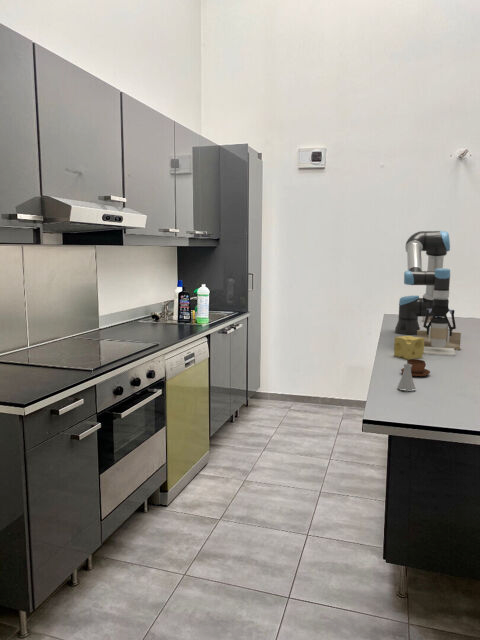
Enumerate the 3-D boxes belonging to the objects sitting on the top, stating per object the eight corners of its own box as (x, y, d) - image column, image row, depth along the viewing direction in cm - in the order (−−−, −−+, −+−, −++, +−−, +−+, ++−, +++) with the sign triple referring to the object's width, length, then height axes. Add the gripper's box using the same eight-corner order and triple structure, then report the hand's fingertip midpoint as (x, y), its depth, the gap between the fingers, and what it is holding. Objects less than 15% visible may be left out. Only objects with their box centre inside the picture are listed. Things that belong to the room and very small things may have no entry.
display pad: (422, 347, 286) (422, 346, 286) (453, 349, 280) (454, 348, 280) (421, 353, 271) (421, 352, 271) (455, 355, 265) (455, 354, 265)
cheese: (408, 360, 257) (409, 339, 255) (392, 355, 266) (393, 336, 265) (423, 357, 262) (424, 338, 260) (407, 353, 271) (408, 334, 270)
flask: (394, 387, 209) (395, 362, 208) (411, 386, 210) (413, 362, 208) (400, 392, 202) (402, 367, 201) (419, 392, 203) (420, 366, 201)
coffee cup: (449, 348, 270) (450, 319, 268) (430, 347, 272) (432, 318, 269) (445, 344, 279) (447, 316, 276) (428, 344, 280) (429, 316, 278)
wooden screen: (416, 345, 292) (417, 329, 291) (459, 348, 285) (460, 331, 283) (416, 347, 287) (417, 331, 285) (460, 350, 279) (461, 333, 278)
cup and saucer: (407, 370, 237) (408, 356, 236) (434, 374, 230) (434, 360, 229) (396, 375, 228) (397, 361, 227) (423, 380, 221) (424, 365, 220)
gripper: (419, 298, 272) (416, 341, 275) (463, 300, 264) (460, 344, 268) (419, 297, 279) (417, 339, 282) (463, 298, 271) (460, 341, 275)
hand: (438, 341), depth 275 cm, fingers closed on coffee cup, 8 cm apart
